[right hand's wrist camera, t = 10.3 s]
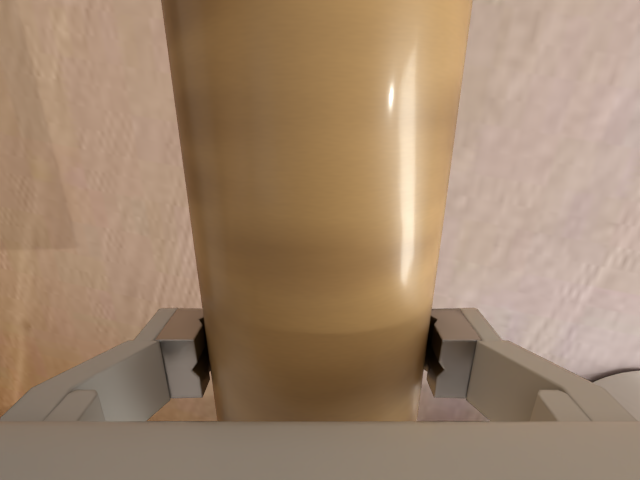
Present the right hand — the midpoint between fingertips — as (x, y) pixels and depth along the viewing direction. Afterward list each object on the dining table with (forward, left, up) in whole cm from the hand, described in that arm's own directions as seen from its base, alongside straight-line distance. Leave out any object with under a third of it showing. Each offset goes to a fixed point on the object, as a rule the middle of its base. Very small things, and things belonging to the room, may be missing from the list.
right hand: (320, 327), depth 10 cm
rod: (+10, -1, -3) cm, 11 cm away
